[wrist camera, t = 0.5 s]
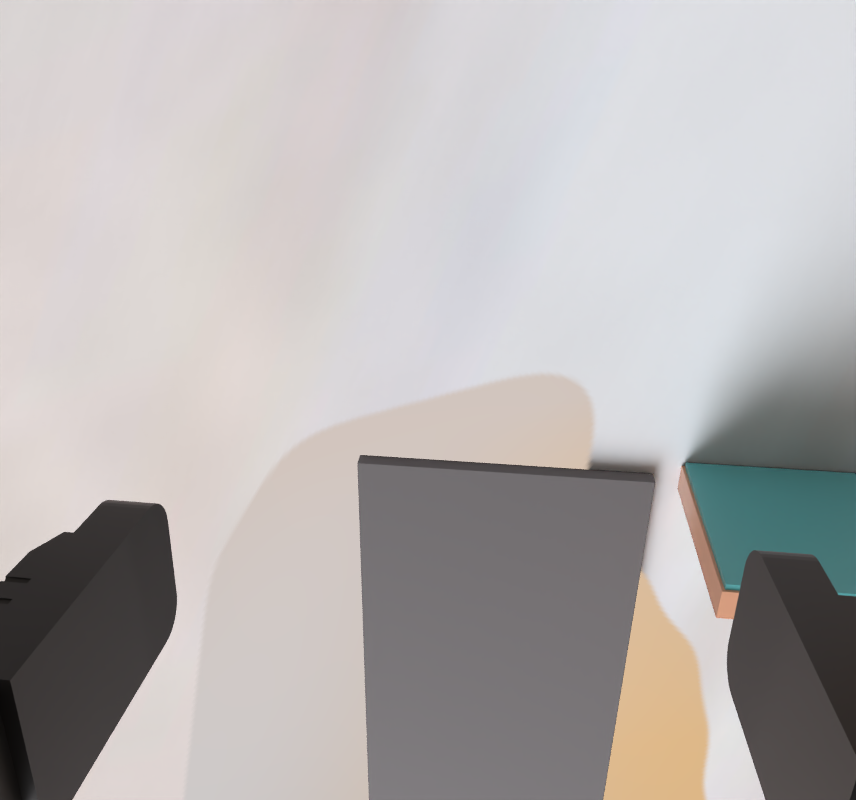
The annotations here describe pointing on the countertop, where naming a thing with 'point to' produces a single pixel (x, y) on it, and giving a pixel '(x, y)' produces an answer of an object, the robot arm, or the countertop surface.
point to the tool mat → (495, 625)
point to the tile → (768, 522)
